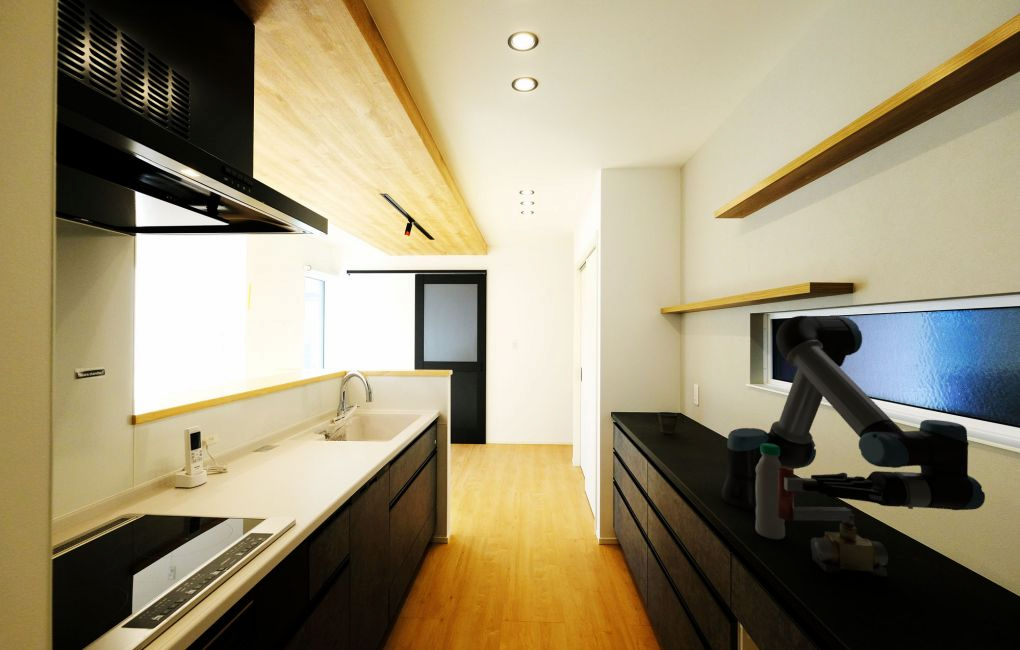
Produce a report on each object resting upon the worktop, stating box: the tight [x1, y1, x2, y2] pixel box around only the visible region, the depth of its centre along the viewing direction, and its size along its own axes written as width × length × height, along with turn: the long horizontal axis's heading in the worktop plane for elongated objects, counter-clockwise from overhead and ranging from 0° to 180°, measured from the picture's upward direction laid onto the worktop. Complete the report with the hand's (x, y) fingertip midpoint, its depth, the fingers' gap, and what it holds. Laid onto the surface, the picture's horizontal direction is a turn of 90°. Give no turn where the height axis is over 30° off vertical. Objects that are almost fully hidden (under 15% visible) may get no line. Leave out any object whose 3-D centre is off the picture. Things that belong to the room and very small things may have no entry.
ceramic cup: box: [657, 411, 683, 434], centre depth 232 cm, size 13×10×10 cm
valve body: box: [810, 522, 889, 578], centre depth 102 cm, size 14×6×10 cm, turn 82°
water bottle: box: [754, 443, 786, 540], centre depth 119 cm, size 7×7×25 cm
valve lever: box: [778, 466, 855, 528], centre depth 102 cm, size 18×3×14 cm, turn 90°
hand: (785, 484), depth 100 cm, fingers closed
